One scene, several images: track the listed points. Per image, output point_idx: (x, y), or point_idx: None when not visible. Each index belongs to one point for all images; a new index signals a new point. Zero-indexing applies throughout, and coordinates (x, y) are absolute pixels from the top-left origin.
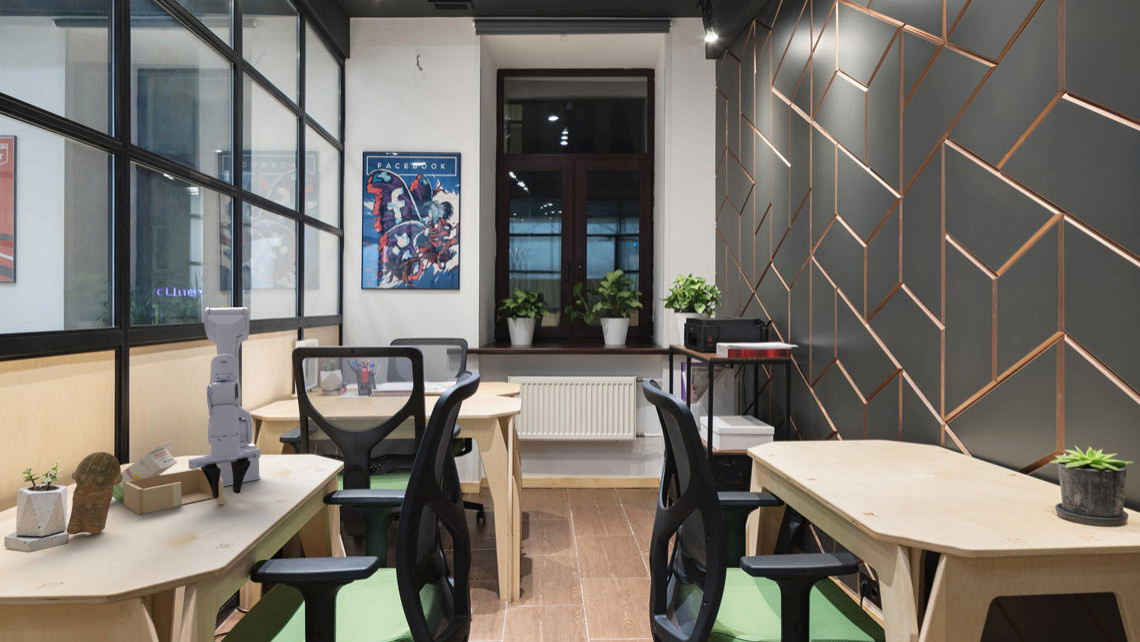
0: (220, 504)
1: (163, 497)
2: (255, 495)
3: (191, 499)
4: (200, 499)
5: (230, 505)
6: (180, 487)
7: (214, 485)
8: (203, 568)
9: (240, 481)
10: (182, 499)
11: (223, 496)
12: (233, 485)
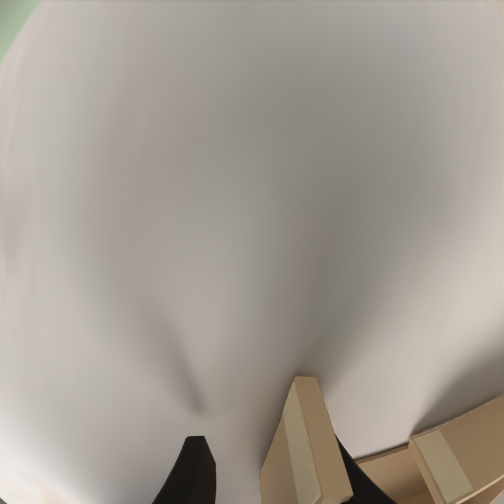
0: (310, 377)
1: (481, 445)
2: (116, 424)
3: None
4: None
5: (262, 348)
6: (443, 490)
7: (367, 477)
8: None
9: (175, 492)
10: None
11: (300, 411)
12: (213, 494)
